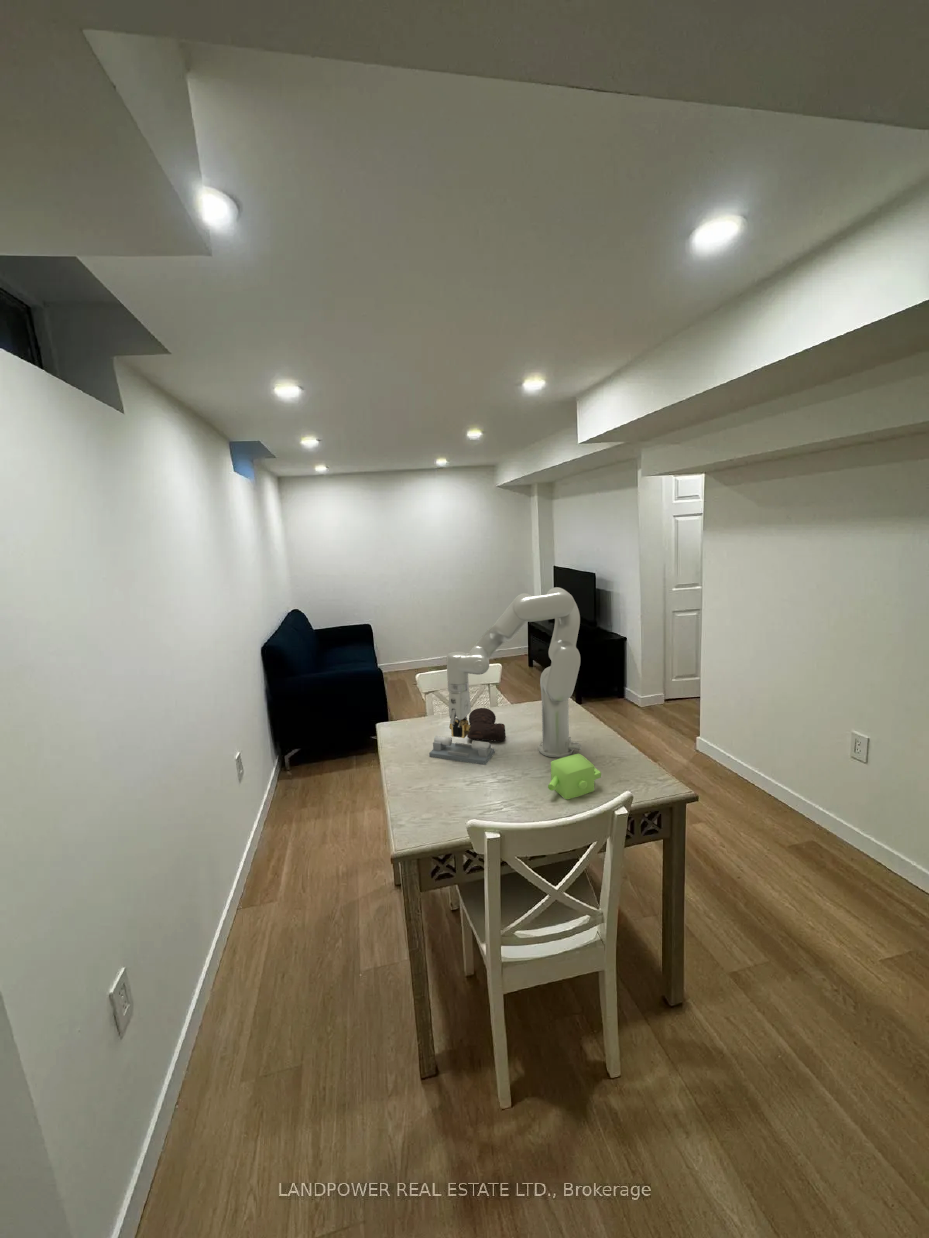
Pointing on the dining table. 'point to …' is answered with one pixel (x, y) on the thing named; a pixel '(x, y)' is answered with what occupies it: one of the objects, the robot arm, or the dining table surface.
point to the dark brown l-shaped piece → (485, 726)
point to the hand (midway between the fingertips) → (460, 733)
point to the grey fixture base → (462, 750)
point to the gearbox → (573, 776)
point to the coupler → (465, 728)
